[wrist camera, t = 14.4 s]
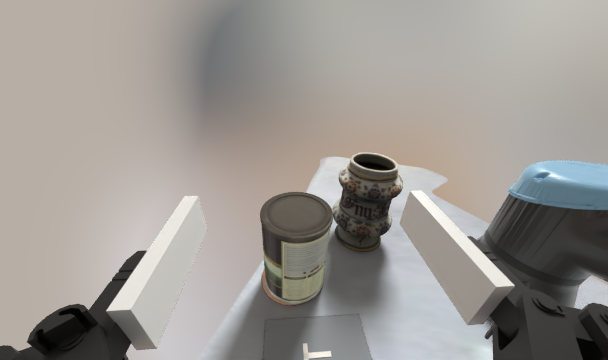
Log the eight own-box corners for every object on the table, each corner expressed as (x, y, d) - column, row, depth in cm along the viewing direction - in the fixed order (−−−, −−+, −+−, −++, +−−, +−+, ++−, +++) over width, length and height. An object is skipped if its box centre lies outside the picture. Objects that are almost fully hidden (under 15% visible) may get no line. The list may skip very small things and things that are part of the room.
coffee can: (252, 290, 35) (245, 223, 28) (280, 246, 44) (280, 186, 37) (313, 315, 32) (321, 247, 25) (330, 262, 41) (340, 200, 34)
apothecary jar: (397, 240, 47) (423, 165, 39) (359, 265, 41) (379, 183, 32) (355, 211, 56) (369, 144, 47) (319, 228, 50) (326, 155, 41)
